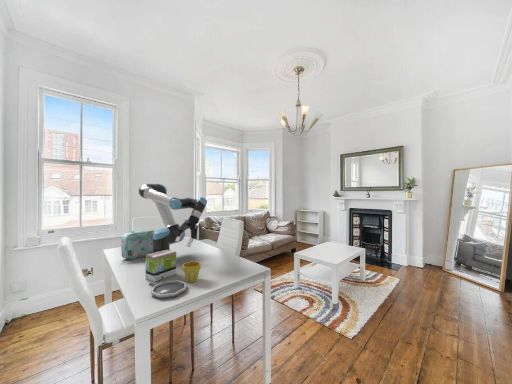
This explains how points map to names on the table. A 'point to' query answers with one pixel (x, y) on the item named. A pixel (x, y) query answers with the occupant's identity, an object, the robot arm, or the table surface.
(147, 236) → the lunch box
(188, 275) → the plant pot
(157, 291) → the octagonal handled pan
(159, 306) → the table surface
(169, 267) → the tea box
